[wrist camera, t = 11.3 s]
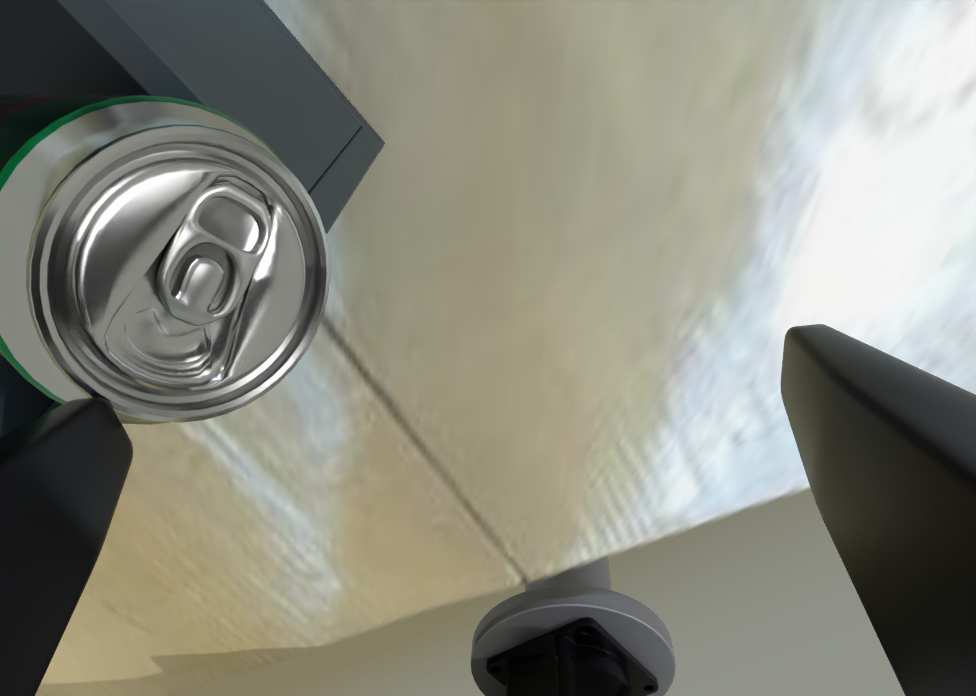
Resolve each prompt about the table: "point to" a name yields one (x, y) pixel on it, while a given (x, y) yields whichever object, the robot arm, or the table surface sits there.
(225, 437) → the table surface
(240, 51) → the bin
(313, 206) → the soda can
